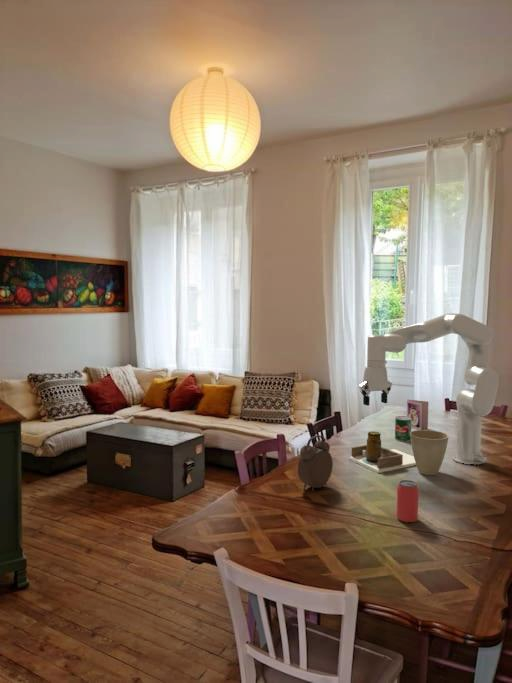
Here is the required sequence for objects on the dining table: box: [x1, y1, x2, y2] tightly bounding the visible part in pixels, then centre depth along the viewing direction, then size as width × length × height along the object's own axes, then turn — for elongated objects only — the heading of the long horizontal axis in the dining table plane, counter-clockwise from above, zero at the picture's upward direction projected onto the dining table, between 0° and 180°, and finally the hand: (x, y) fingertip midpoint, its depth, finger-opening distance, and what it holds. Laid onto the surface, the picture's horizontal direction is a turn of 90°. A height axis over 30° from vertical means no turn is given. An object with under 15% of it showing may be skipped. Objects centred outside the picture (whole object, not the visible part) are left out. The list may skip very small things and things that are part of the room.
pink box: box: [406, 399, 430, 430], centre depth 276 cm, size 11×7×15 cm, turn 25°
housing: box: [351, 444, 403, 469], centre depth 217 cm, size 18×13×4 cm
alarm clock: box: [297, 434, 333, 492], centre depth 189 cm, size 15×7×20 cm, turn 135°
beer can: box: [396, 479, 420, 523], centre depth 163 cm, size 7×7×12 cm
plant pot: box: [410, 429, 449, 476], centre depth 206 cm, size 15×15×16 cm
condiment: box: [363, 431, 382, 464], centre depth 216 cm, size 7×8×12 cm
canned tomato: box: [394, 415, 412, 442], centre depth 254 cm, size 8×8×11 cm
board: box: [348, 448, 417, 474], centre depth 220 cm, size 19×26×4 cm
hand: (375, 403), depth 215 cm, fingers open, 9 cm apart
